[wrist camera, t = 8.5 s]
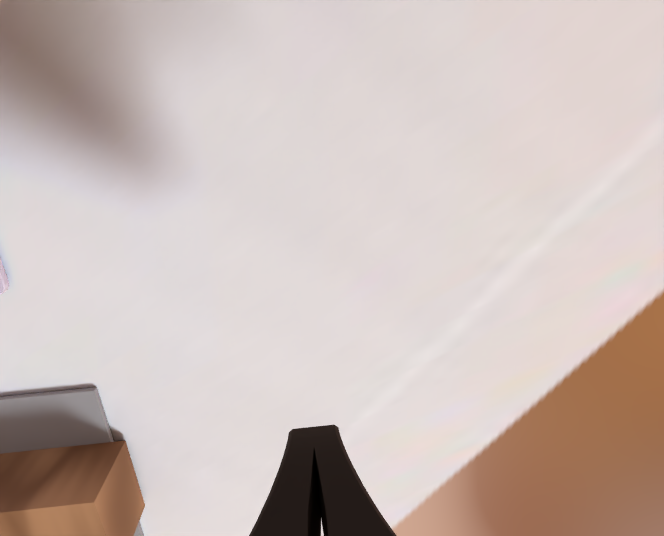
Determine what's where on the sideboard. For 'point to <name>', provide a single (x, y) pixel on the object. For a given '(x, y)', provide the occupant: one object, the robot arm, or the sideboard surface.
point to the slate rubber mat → (53, 422)
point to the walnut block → (70, 492)
